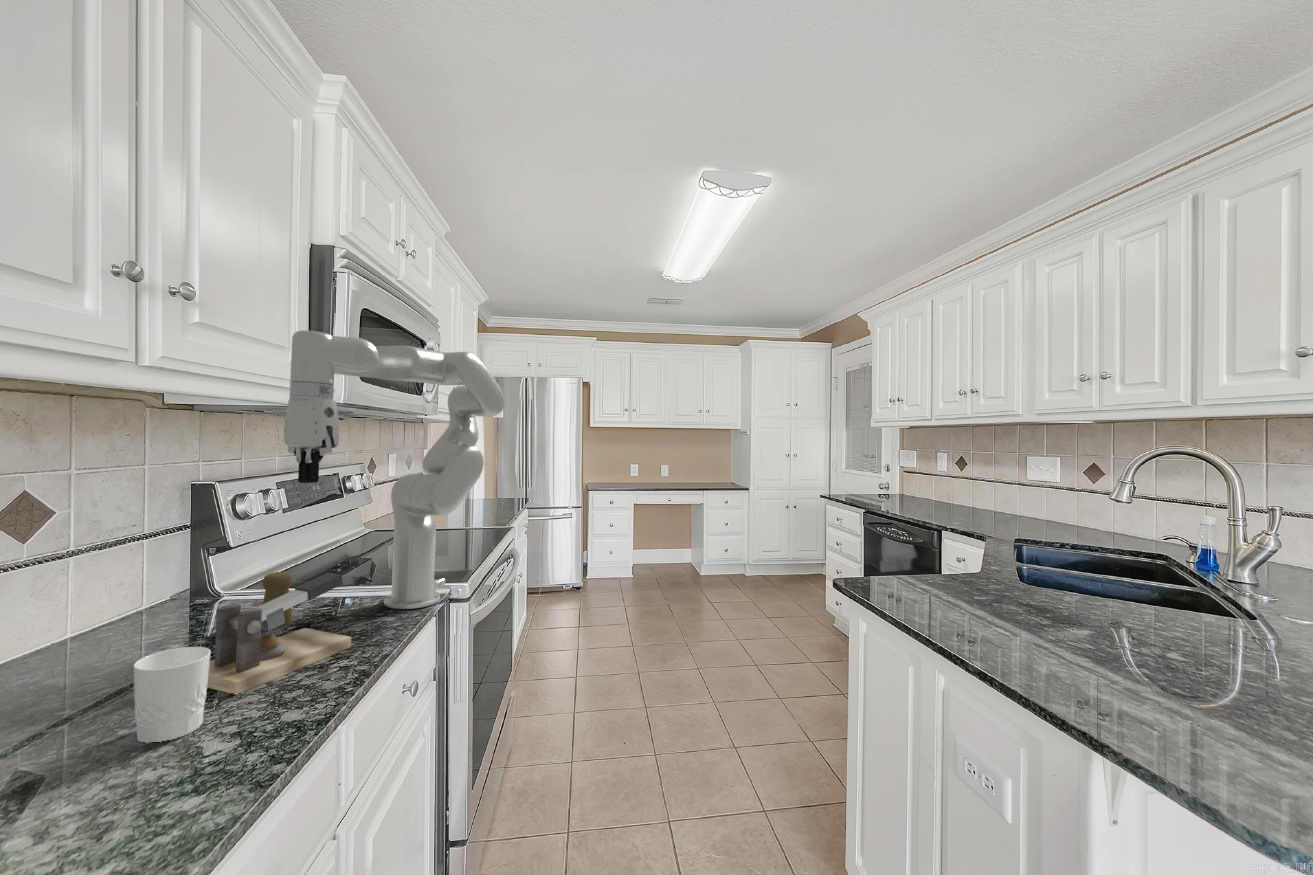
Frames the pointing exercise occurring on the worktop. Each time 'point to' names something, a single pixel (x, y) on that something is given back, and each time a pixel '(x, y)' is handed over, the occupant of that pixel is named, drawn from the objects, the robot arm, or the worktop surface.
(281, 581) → the cork
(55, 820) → the worktop surface
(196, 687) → the white cup
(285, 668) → the nutcracker base
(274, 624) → the lever
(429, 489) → the robot arm
